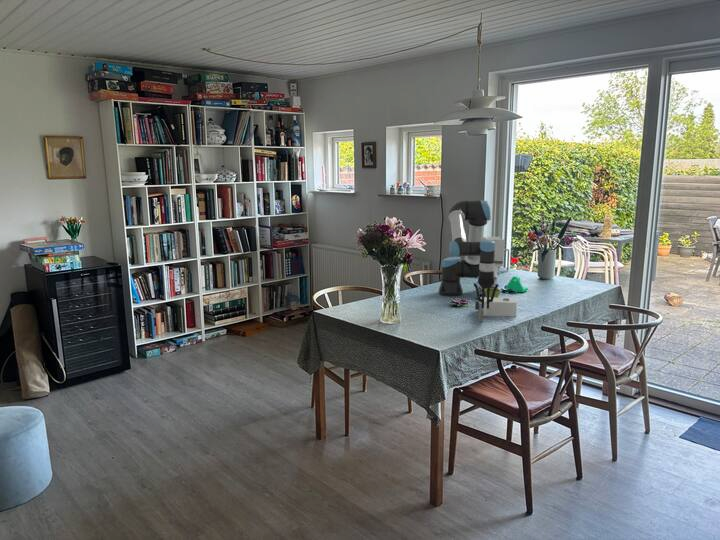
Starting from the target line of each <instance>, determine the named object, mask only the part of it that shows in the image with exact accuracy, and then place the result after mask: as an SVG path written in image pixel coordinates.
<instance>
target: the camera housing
mask: <svg viewBox="0 0 720 540" xmlns="http://www.w3.org/2000/svg"><path fill="white" fill-rule="evenodd" d="M480 299H482V296H480ZM489 299H491V297H489ZM484 302H487V297H486V296H484ZM479 304H481V306H482V303H481V302H479V301H478V300H475V305H474V308H475V309H474V310H476V311H477V313H478V314H479ZM517 306H518V303H517V300H516V298H515V297H498V298H494V299H493V302H490V303H489V309H487V315H484V314H483V317H505V316H513V318H515V317H517ZM482 310H483V312H484V309H482ZM514 316H515V317H514Z"/></svg>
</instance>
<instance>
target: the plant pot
mask: <svg viewBox="0 0 720 540" xmlns="http://www.w3.org/2000/svg"><path fill="white" fill-rule="evenodd" d="M493 289H494V288H490V294H489V297H491V295H492V292H493ZM499 293H500V294H501V290H500V288H498V289H496V292H495V295H494V298H499V297H500V296H499V295H500V294H499ZM484 296H485V297H487V288H486V289H485V293H484Z"/></svg>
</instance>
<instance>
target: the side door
mask: <svg viewBox="0 0 720 540" xmlns="http://www.w3.org/2000/svg"><path fill="white" fill-rule="evenodd" d="M478 316H479V317H478V318H479V322H480V324H484V323H483V321H484V316H483V310H482V307H481V304H479V315H478Z"/></svg>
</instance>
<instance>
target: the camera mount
mask: <svg viewBox="0 0 720 540" xmlns="http://www.w3.org/2000/svg"><path fill="white" fill-rule="evenodd" d="M508 289H512V290H514V291H516V292H515V293H517V292H518V293H520V292H521V293H523V292H527V291H529V290H528V289H529V287H526V286H523V284H522V282H521V277H520V276H518V275H514V276H512V277H511V278H510V280H509V282H508V283H507V284H506V286H505V290H508Z"/></svg>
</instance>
